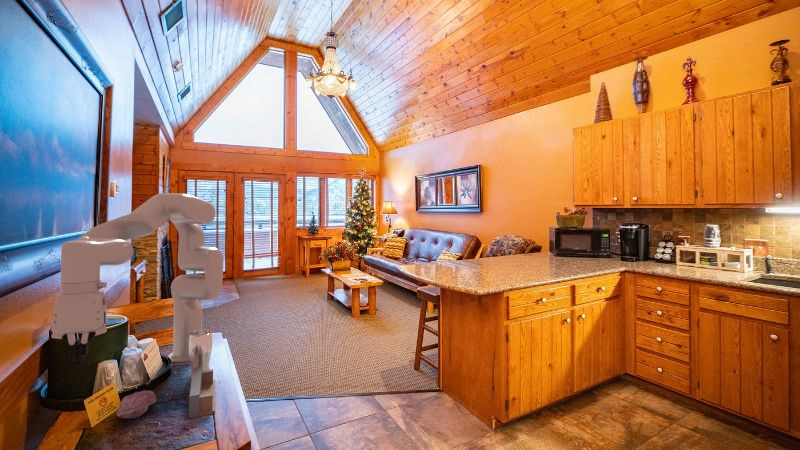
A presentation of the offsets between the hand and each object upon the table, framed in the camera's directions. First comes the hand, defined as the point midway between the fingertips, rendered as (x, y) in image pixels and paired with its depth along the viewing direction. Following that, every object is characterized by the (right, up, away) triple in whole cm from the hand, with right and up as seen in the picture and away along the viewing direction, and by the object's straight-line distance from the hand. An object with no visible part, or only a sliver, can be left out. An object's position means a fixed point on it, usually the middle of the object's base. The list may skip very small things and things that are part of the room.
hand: (79, 357), depth 91 cm
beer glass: (+15, -17, +28) cm, 36 cm away
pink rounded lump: (+10, -18, +6) cm, 21 cm away
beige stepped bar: (+25, -17, +14) cm, 33 cm away
